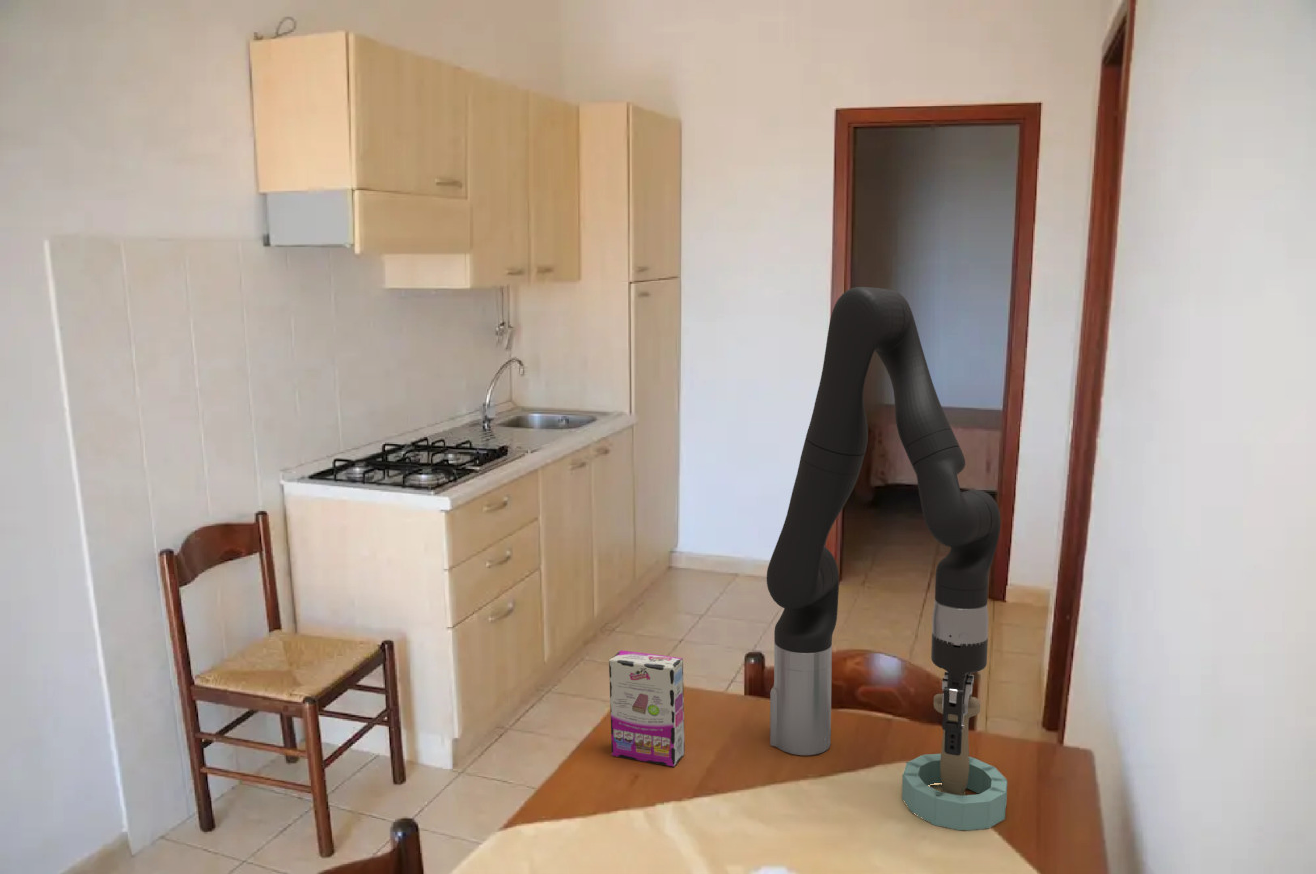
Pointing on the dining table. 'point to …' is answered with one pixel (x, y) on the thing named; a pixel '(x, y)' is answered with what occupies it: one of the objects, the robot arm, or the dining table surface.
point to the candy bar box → (647, 707)
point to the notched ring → (950, 807)
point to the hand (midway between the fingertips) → (955, 740)
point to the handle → (951, 765)
